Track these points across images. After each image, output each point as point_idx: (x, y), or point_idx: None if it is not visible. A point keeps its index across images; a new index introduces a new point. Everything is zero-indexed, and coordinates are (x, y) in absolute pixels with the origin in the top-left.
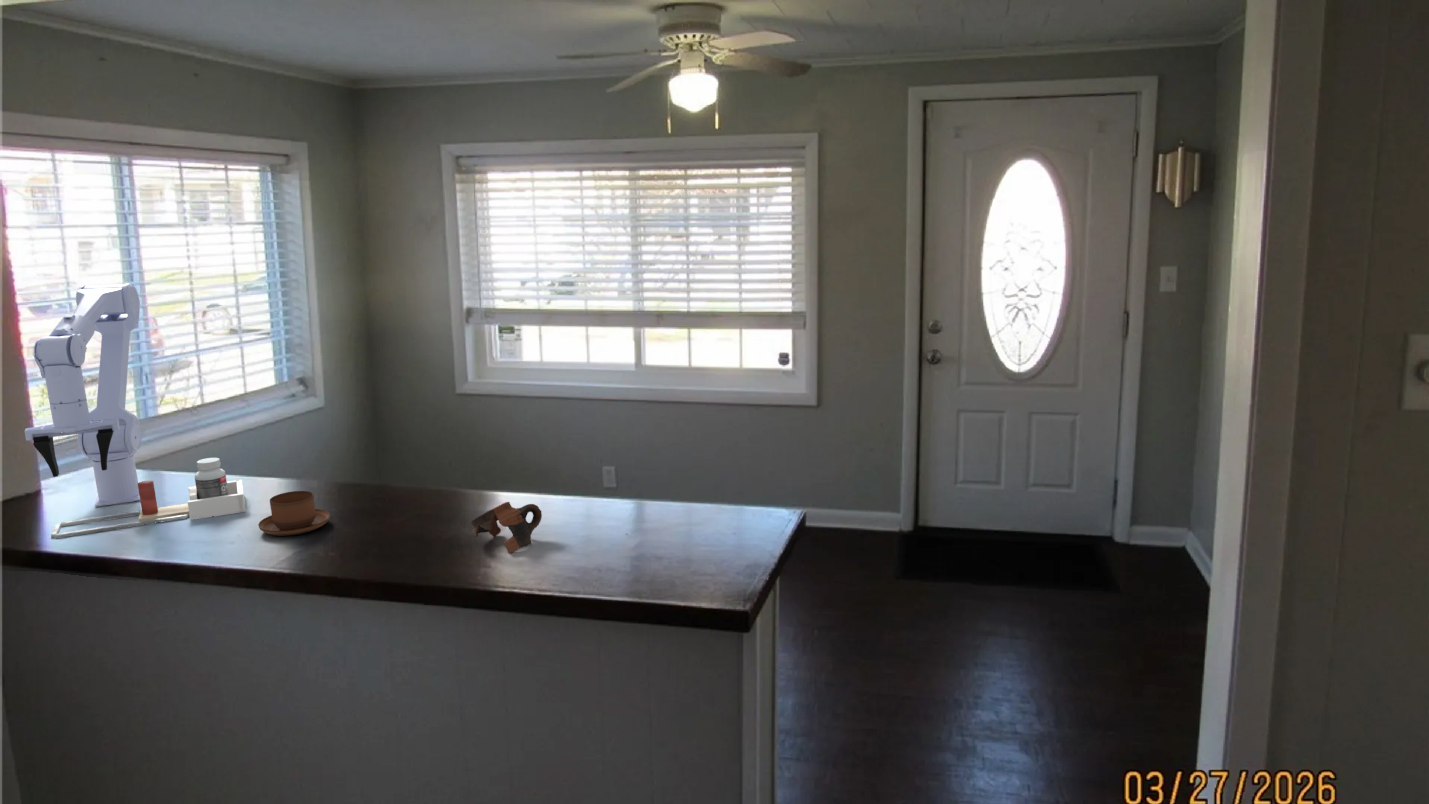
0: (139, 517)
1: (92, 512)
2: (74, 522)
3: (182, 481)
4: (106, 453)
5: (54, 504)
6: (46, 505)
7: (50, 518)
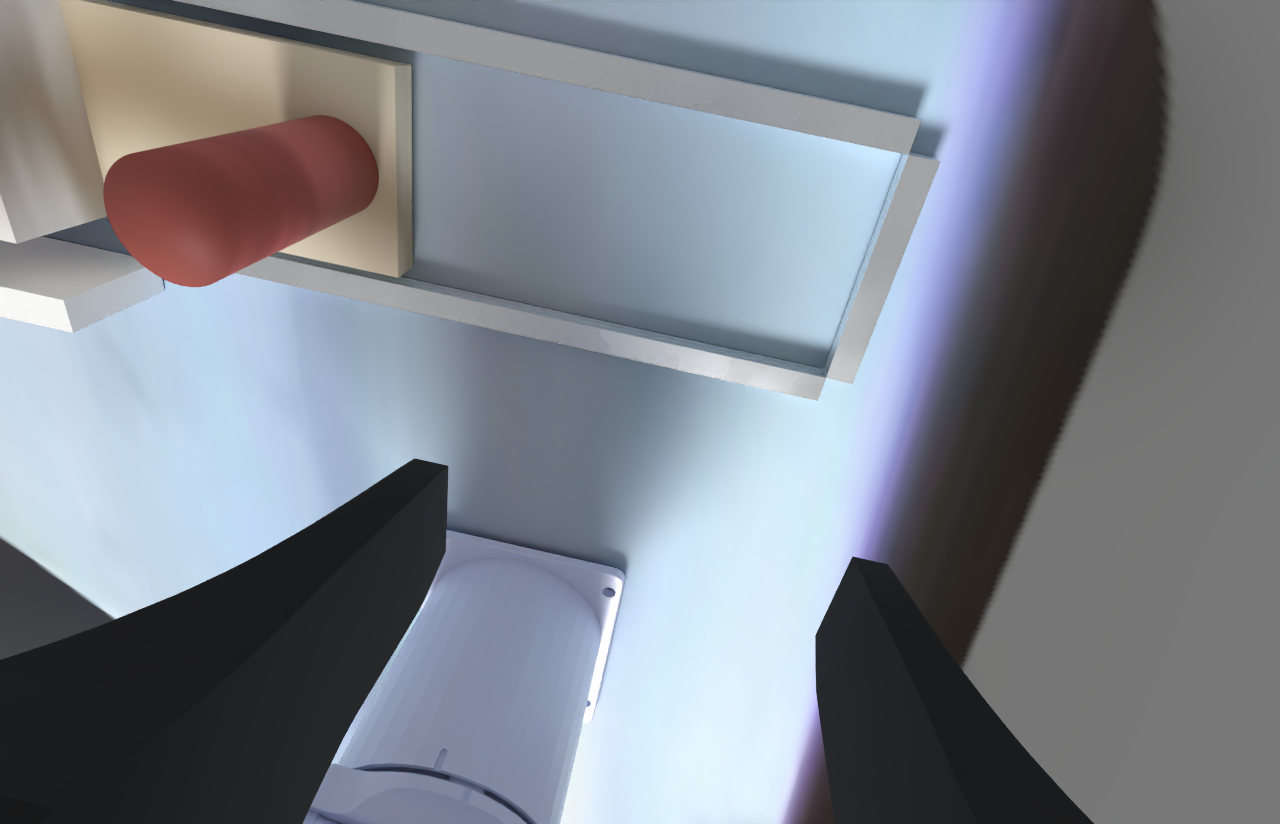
0: (390, 96)
1: (645, 507)
2: (755, 360)
3: None
4: (253, 558)
5: (769, 720)
6: (798, 728)
7: (831, 551)
